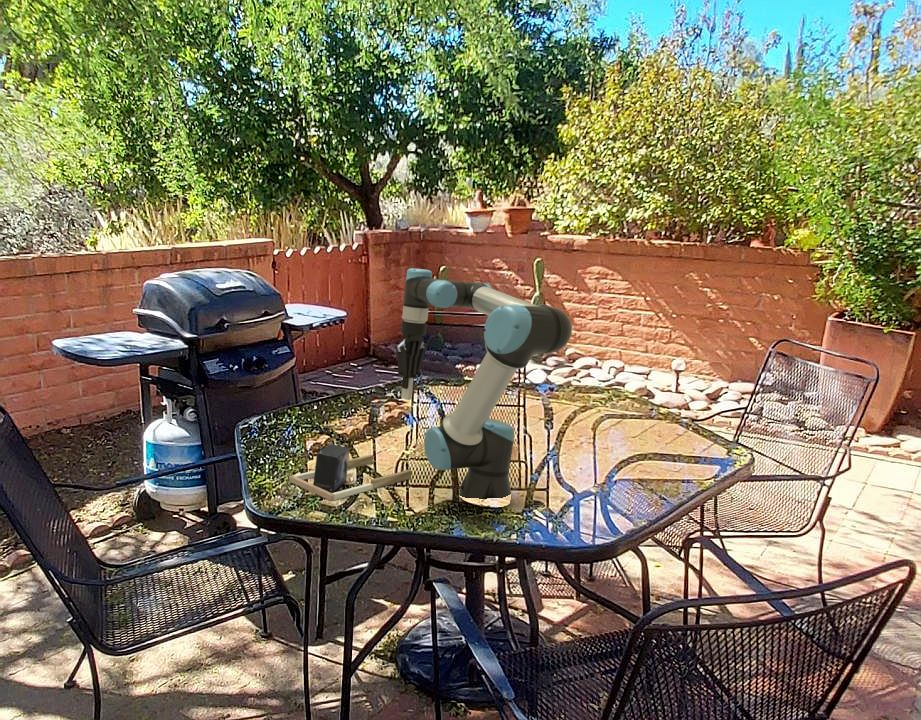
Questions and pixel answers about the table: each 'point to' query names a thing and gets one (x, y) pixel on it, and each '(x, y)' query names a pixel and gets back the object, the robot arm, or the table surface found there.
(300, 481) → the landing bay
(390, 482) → the wooden rail pair
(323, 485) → the small box
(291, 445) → the table surface
